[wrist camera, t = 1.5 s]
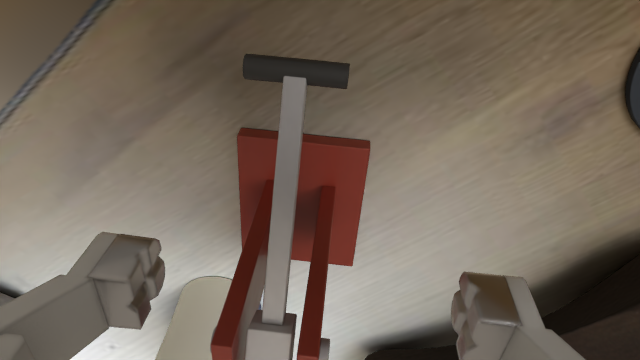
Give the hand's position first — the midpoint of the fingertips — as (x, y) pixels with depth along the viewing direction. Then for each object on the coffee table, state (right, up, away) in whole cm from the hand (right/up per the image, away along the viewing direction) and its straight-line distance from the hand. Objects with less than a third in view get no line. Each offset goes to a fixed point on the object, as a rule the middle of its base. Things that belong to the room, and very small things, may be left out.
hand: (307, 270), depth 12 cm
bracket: (-1, +1, +22) cm, 22 cm away
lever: (-1, +1, +11) cm, 11 cm away
